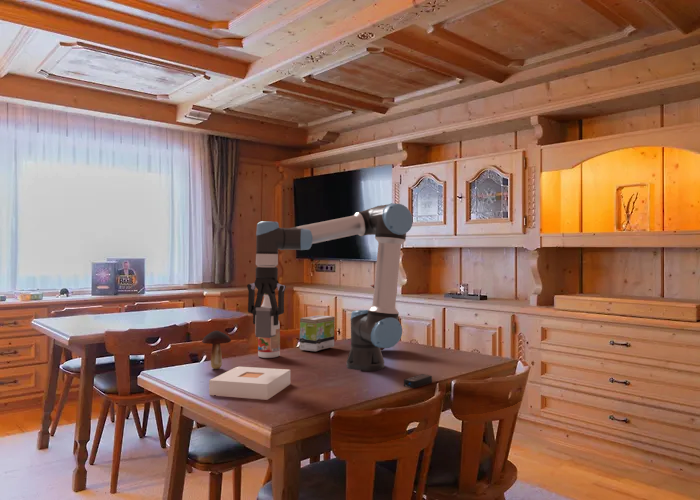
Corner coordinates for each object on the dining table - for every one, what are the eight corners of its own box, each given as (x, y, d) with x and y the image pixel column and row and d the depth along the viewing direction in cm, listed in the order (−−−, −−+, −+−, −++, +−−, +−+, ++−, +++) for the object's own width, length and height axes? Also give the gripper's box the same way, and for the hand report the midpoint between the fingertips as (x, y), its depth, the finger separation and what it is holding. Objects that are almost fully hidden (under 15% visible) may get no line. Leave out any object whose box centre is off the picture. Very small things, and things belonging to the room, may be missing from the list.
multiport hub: (432, 382, 188) (432, 375, 188) (413, 388, 180) (413, 381, 180) (422, 380, 191) (422, 373, 191) (403, 386, 183) (403, 379, 183)
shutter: (264, 377, 180) (264, 374, 180) (256, 382, 174) (256, 379, 174) (246, 376, 181) (246, 373, 181) (238, 380, 175) (238, 377, 175)
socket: (290, 384, 185) (290, 369, 185) (267, 400, 165) (267, 384, 165) (237, 380, 190) (237, 366, 190) (209, 395, 170) (209, 380, 170)
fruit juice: (281, 357, 229) (281, 292, 228) (259, 358, 226) (258, 293, 226) (278, 353, 238) (278, 290, 237) (257, 354, 235) (257, 291, 235)
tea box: (316, 352, 240) (316, 319, 240) (299, 349, 246) (299, 317, 246) (335, 346, 253) (335, 315, 253) (317, 344, 258) (317, 314, 258)
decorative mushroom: (205, 366, 212) (205, 328, 212) (233, 365, 213) (233, 328, 213) (199, 372, 202) (198, 333, 201) (228, 372, 202) (228, 332, 202)
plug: (275, 335, 184) (276, 306, 184) (269, 338, 179) (270, 308, 179) (261, 334, 186) (262, 306, 186) (255, 337, 180) (255, 307, 181)
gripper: (295, 266, 184) (294, 334, 184) (247, 265, 188) (246, 331, 188) (287, 267, 176) (285, 337, 176) (237, 266, 181) (236, 334, 181)
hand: (265, 334), depth 182 cm, fingers closed on plug, 5 cm apart
